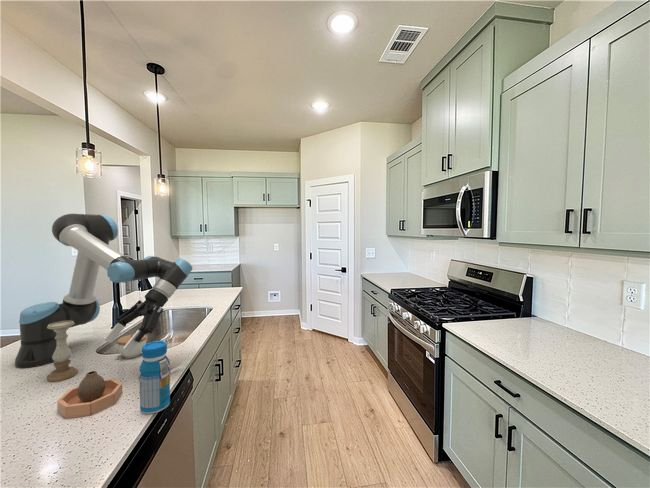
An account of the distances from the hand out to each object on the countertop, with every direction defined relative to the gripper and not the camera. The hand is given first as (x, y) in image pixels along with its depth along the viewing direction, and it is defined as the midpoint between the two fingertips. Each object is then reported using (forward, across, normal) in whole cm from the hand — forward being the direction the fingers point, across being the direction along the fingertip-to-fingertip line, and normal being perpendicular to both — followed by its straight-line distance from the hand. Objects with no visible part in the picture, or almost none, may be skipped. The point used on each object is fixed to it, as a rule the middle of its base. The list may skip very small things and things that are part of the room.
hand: (116, 345), depth 96 cm
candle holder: (+16, +30, -8) cm, 34 cm away
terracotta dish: (+17, +1, -6) cm, 18 cm away
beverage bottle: (+10, -19, -13) cm, 25 cm away
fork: (0, -3, -24) cm, 24 cm away
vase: (+16, 0, -6) cm, 17 cm away
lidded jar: (-1, +27, -24) cm, 36 cm away
